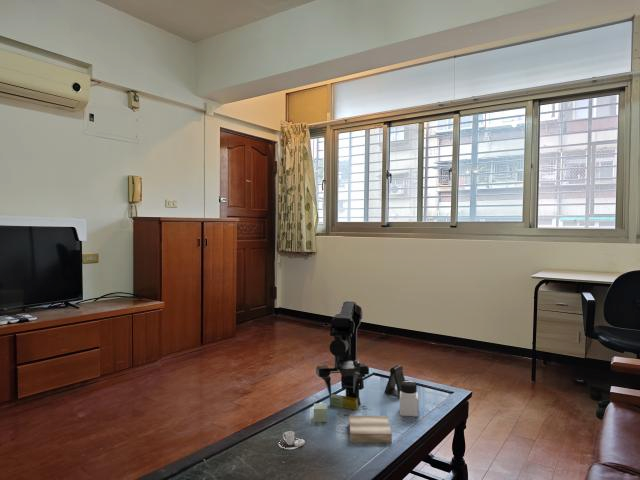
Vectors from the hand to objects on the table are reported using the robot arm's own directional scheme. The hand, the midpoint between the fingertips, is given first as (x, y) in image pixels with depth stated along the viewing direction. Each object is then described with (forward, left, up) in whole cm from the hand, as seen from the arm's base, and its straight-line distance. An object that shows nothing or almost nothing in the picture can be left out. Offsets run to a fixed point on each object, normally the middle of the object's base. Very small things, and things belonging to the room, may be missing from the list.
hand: (342, 394), depth 154 cm
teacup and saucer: (+13, -17, -14) cm, 26 cm away
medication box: (-21, +1, -14) cm, 25 cm away
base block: (+2, +10, -13) cm, 16 cm away
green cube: (-9, -8, -13) cm, 18 cm away
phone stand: (-35, +25, -13) cm, 45 cm away
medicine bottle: (-15, +27, -13) cm, 33 cm away
